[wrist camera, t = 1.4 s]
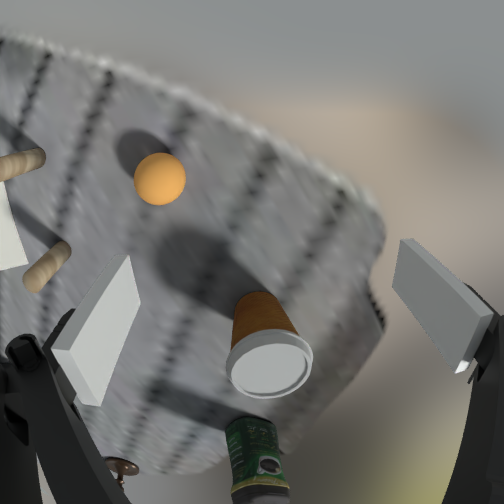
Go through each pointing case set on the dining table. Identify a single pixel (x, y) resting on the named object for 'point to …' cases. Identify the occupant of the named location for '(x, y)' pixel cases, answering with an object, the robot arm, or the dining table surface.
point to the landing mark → (9, 236)
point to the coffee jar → (256, 463)
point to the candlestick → (121, 469)
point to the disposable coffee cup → (266, 349)
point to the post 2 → (46, 267)
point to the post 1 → (21, 163)
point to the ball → (159, 178)
